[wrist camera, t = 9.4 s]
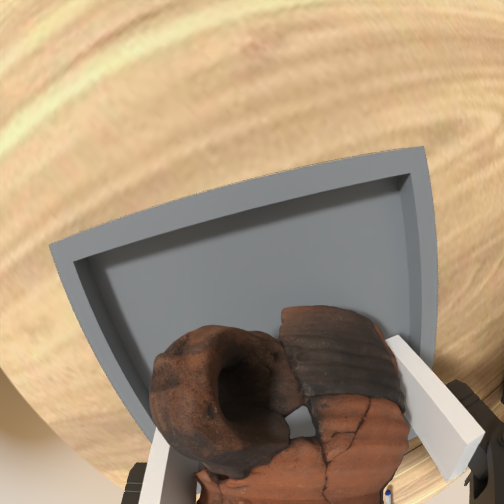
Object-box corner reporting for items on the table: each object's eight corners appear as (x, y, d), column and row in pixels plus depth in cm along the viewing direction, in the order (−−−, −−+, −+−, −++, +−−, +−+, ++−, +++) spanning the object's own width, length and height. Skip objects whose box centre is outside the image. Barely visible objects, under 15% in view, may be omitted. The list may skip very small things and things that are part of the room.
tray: (400, 148, 12) (423, 146, 10) (408, 417, 16) (420, 435, 15) (70, 235, 12) (48, 244, 10) (195, 472, 17) (193, 493, 15)
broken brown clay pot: (415, 352, 13) (428, 500, 7) (274, 391, 18) (263, 507, 12) (294, 181, 7) (273, 588, 2) (115, 297, 12) (55, 469, 6)
